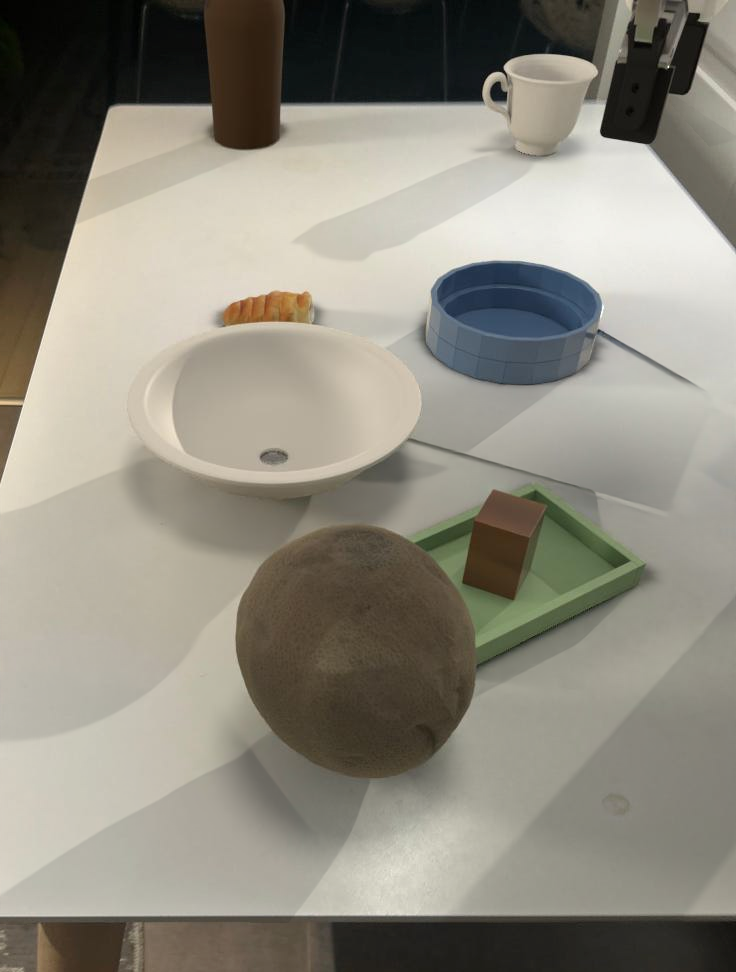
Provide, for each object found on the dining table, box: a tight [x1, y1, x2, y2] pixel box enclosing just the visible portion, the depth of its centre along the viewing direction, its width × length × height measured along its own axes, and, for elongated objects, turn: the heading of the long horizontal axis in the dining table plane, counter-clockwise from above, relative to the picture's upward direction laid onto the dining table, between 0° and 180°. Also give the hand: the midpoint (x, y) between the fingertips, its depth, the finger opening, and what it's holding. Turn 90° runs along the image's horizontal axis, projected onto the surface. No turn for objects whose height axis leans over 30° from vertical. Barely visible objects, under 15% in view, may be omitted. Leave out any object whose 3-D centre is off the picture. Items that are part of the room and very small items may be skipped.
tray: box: [405, 481, 647, 666], centre depth 71 cm, size 18×12×2 cm, turn 121°
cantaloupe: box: [234, 523, 477, 780], centre depth 56 cm, size 14×14×15 cm
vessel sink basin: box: [126, 322, 423, 500], centre depth 80 cm, size 24×24×7 cm
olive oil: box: [203, 0, 286, 150], centre depth 127 cm, size 11×11×25 cm
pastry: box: [221, 290, 316, 327], centre depth 97 cm, size 9×7×4 cm
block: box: [462, 488, 547, 600], centre depth 69 cm, size 4×4×6 cm
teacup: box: [482, 53, 599, 157], centre depth 128 cm, size 12×15×10 cm
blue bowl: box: [424, 259, 605, 385], centre depth 94 cm, size 16×16×5 cm
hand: (645, 114), depth 59 cm, fingers open, 9 cm apart
